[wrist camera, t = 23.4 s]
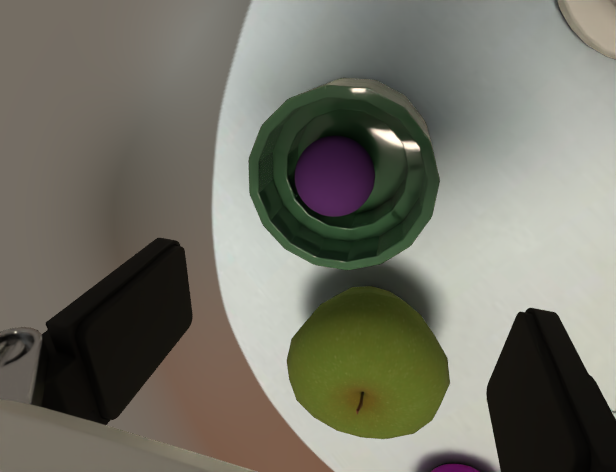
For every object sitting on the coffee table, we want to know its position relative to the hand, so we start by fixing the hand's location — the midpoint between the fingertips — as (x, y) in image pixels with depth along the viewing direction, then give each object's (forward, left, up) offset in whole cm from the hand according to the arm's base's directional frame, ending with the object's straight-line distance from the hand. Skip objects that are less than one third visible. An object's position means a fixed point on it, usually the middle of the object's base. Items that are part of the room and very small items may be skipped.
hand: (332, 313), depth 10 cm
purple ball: (+1, -2, -14) cm, 14 cm away
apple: (+13, +1, -17) cm, 21 cm away
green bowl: (0, -2, -17) cm, 17 cm away
